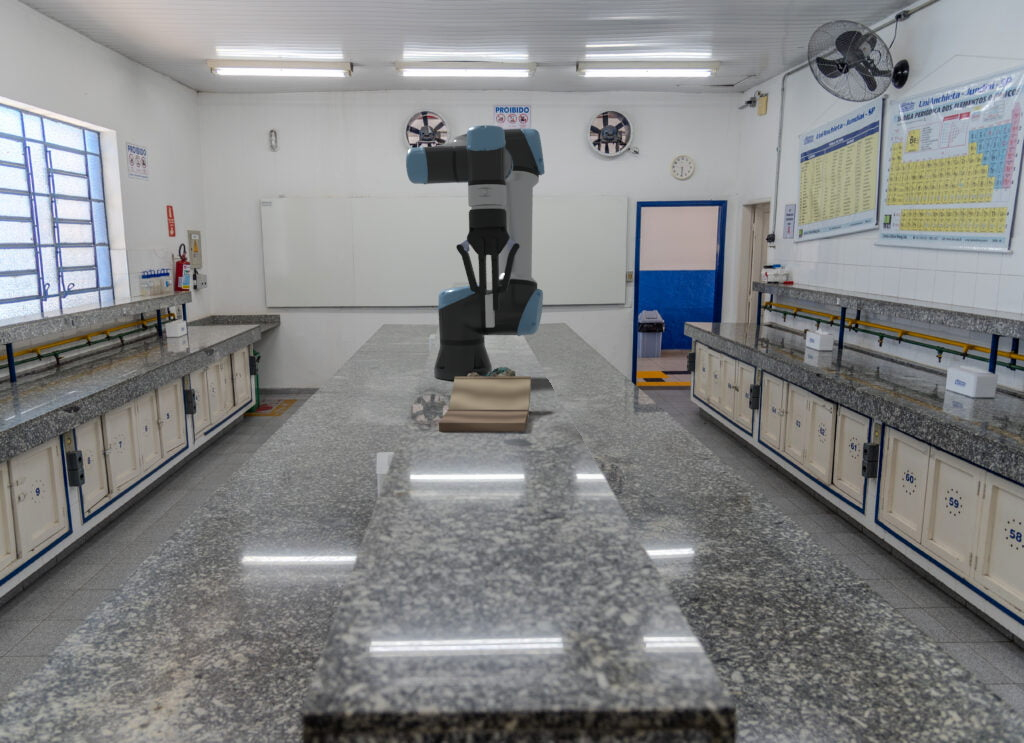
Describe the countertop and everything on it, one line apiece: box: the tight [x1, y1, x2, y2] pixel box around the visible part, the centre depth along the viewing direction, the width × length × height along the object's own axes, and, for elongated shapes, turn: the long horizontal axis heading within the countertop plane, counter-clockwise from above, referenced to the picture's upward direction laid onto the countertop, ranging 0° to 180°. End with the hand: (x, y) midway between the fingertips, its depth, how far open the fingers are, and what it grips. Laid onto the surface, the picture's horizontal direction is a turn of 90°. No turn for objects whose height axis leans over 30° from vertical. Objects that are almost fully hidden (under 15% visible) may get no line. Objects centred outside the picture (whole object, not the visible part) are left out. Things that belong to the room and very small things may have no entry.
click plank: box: [448, 375, 532, 416], centre depth 144 cm, size 10×16×2 cm
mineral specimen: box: [467, 366, 516, 377], centre depth 159 cm, size 12×9×8 cm
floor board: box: [438, 409, 529, 432], centre depth 134 cm, size 10×16×2 cm, turn 85°
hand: (490, 326), depth 143 cm, fingers closed
